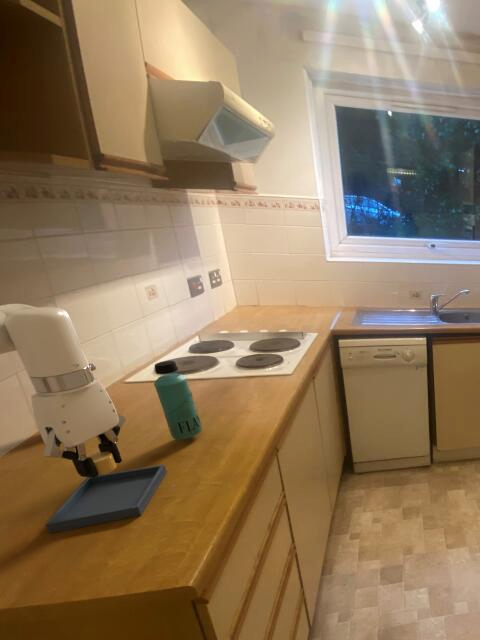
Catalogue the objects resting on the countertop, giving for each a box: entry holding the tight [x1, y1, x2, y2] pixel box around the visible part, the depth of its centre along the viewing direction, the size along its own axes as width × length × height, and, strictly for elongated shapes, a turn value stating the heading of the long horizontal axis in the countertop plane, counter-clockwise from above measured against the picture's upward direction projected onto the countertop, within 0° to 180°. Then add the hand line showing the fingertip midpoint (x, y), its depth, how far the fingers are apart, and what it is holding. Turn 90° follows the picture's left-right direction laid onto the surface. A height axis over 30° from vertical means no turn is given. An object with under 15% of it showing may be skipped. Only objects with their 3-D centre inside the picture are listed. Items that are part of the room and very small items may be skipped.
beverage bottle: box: [153, 360, 203, 440], centre depth 103 cm, size 6×7×20 cm
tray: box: [45, 464, 168, 534], centre depth 85 cm, size 13×15×2 cm
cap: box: [88, 451, 118, 475], centre depth 82 cm, size 4×4×3 cm
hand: (101, 468), depth 82 cm, fingers closed on cap, 4 cm apart
